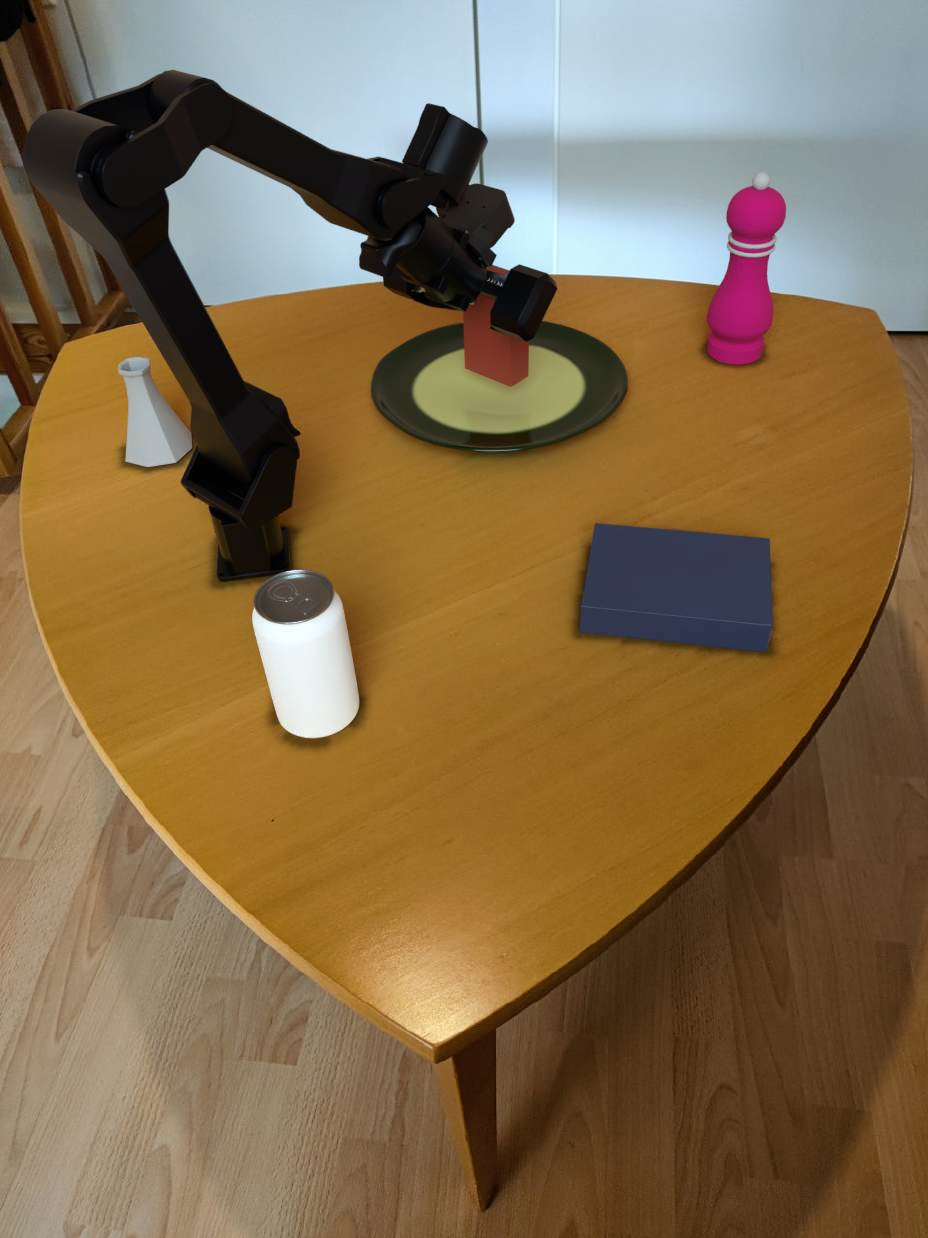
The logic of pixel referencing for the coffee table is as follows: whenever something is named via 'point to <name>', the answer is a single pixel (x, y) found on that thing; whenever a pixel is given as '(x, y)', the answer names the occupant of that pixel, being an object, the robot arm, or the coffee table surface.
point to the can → (306, 653)
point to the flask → (151, 419)
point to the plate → (499, 391)
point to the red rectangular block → (492, 344)
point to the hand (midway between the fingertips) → (504, 317)
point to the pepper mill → (746, 275)
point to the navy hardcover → (678, 587)
